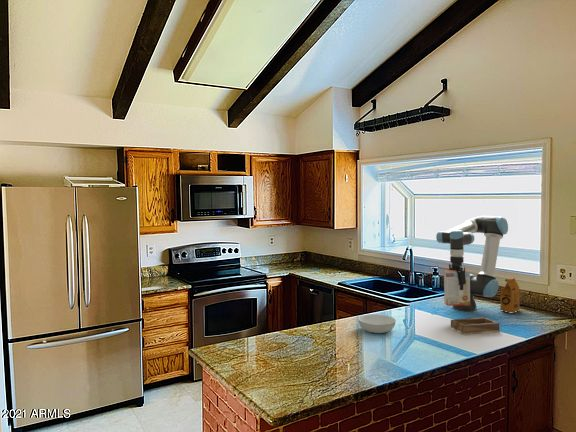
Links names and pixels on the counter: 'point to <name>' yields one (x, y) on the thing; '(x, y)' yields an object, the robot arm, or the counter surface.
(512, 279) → the coffee package
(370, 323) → the serving bowl
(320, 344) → the counter surface
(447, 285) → the cracker box
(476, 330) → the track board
